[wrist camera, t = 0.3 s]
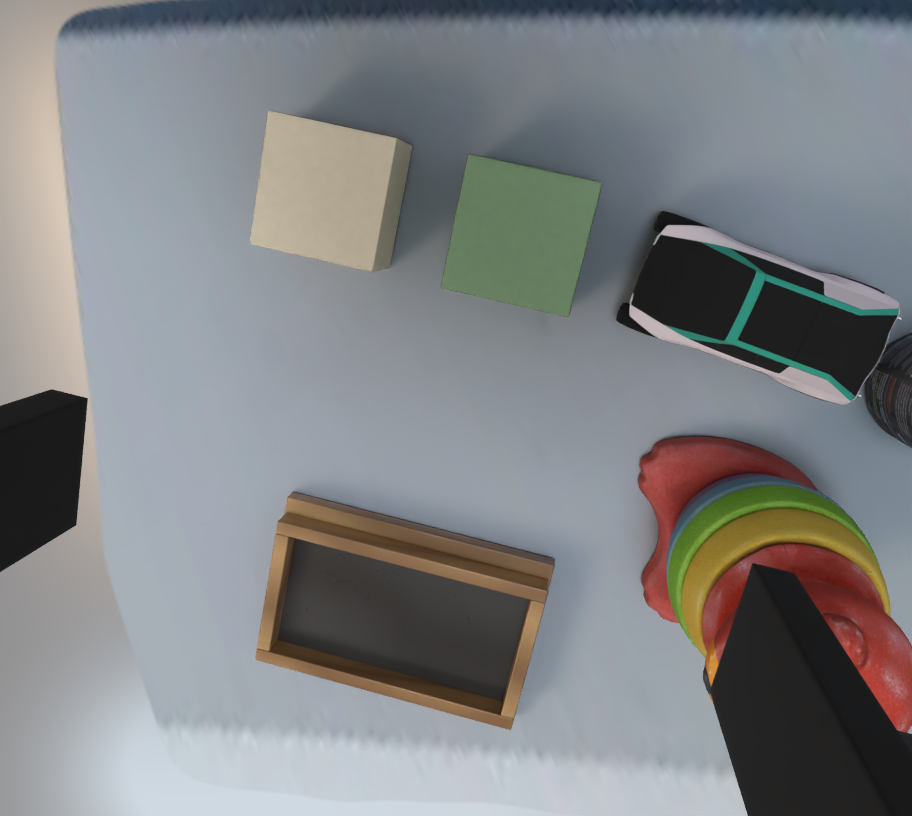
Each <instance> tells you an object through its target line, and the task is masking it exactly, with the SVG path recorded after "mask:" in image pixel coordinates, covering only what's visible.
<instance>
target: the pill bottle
mask: <svg viewBox="0 0 912 816" xmlns="http://www.w3.org/2000/svg"><path fill="white" fill-rule="evenodd" d="M866 394H867V402H868V406H869V410H870V413H871V414H872V415H873V416H874V418H875V420H876V422H877V423H878V424H879V425H880V426H881V427H882V429H883V430H885V431H886V432H887V433H888V434H890V435H891V436H893V437H895V438H896V439H898V440H899V441H901V442H902V443H904V444H906V445H907V446H909V447H911V448H912V334H911V335H908V336H906V337H904V338H902V339H900V340H898V341H896V342H895V343H893V344H892V345H891V346H890V347H888V348H887V349H886V350H885V351H884V352H883V354H882V356H881V358H880V360H879V362H878V364H877V365H876V367H875V369H874V370H873V371H872V373H871V374H870V375H869V377H868V381H867V390H866Z"/></svg>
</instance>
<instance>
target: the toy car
mask: <svg viewBox="0 0 912 816" xmlns="http://www.w3.org/2000/svg"><path fill="white" fill-rule="evenodd" d="M656 220H657V221H656V222H655V226H654V230H656V231H658V232H660V234H659V235H658V236H657V237H656V238H655V241H654V243H653V246H652V248H651V250H650V253H649V255H648V257H647V259H646V261H645V263H644V266H643V268H642V270H641V273H640V275H639V278H638V281H637V284H636V286H635V289H634V291H633V293H632V295H631V298H630V304H629V303H623V304H622V305H621V307H620V309H619V311H618V313H617V318H616V320H617V321H618V322H619V323H621V324H623V325H625V326H627V327H629V328H632V329H634V330H636V331H639V332H641V333H644V334H647V335H650V336H653V337H656V338H659V339H662V340H664V341H667V342H670V343H674V344H679V345H684V346H688V347H692V348H695V349H698V350H701V351H704V352H707V353H709V354H712V355H715V356H717V357H720V358H723V359H725V360H728V361H731V362H734V363H736V364H739V365H742V366H745V367H748V368H751V369H754V370H757V371H760V372H763V373H765V374H767V375H769V376H771V377H772V378H774V379H775V380H776V381H778V382H779V383H781V384H783V385H786V386H788V387H790V388H792V389H794V390H796V391H799V392H801V393H804V394H806V395H809V396H811V397H814V398H817V399H820V400H823V401H824V400H825V401H830V402H834V403H838V404H842V405H846V404H848V403H850V402H852V401H853V400H855V399H856V398H857V396H859V397H862V395H860V394H859V392H860V390H861V388H862V386H863V384H864V382H865V381H866V379H867V378H868V377H869V375H870V374H871V373H872V371H873V370H874V369H875V367H876V365H877V364H878V362H879V360H880V358H881V356H882V354H883V352H884V350H885V347H886V345H887V342H888V339H889V335H890V332H891V330H892V328H893V326H894V325H895V323H896V321H897V319H899V320H902V318H900V317H899V315H900V308H899V302H898V301H896V300H895V299H893V298H891V297H889V296H887V295H885V294H884V292H883V291H881V290H879V289H877V288H874V287H872V286H869V285H866V284H864V283H861V282H858V281H855V280H852V279H849V278H846V277H843V276H840V275H836V274H832V273H829V274H827V273H819V272H815V271H812V270H810V269H807V268H805V267H803V266H800V265H798V264H796V263H793V262H791V261H788V260H785V259H783V258H780V257H778V256H775V255H772V254H770V253H767V252H764V251H762V250H759V249H756V248H753V247H751V246H748V245H746V244H743V243H741V242H738V241H736V240H734V239H732V238H730V237H729V236H727V235H725V234H723V233H721V232H718V231H716V230H713V229H711V228H710V227H708V226H705V225H703V224H701V223H698V222H696V221H693V220H690V219H687V218H685V217H682V216H679V215H676V214H672V213H669V212H665V211H662V212H661V213H660V214H659V216H658V218H657V219H656ZM745 258H746V259H745ZM821 301H822V303H821ZM824 302H825V303H824ZM829 304H830V305H829ZM832 305H833V306H832ZM837 307H838V308H837ZM840 308H841V309H840ZM848 311H849V312H848ZM856 314H857V315H856ZM691 332H692V333H691ZM698 334H699V335H698ZM719 343H721V344H719ZM794 357H795V358H794Z"/></svg>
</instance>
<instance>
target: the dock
mask: <svg viewBox="0 0 912 816" xmlns="http://www.w3.org/2000/svg"><path fill="white" fill-rule="evenodd" d="M554 562H555V560H554V559H553V558H549V557H545V556H541V555H537V554H533V553H529V552H526V551H522V550H518V549H514V548H510V547H506V546H502V545H498V544H494V543H490V542H487V541H483V540H479V539H475V538H471V537H467V536H463V535H459V534H455V533H452V532H448V531H444V530H440V529H436V528H432V527H428V526H424V525H420V524H416V523H413V522H409V521H405V520H401V519H397V518H393V517H389V516H385V515H381V514H377V513H374V512H370V511H366V510H362V509H358V508H354V507H350V506H346V505H342V504H339V503H335V502H331V501H327V500H323V499H319V498H315V497H311V496H307V495H303V494H300V493H296V492H293V493H292V494H291V495H290V496H289V497H288V498H287V504H286V510H285V515H284V516H283V517H282V518H281V519H280V520H279V521H278V524H277V530H276V536H275V542H274V548H273V554H272V560H271V566H270V572H269V578H268V584H267V590H266V596H265V602H264V608H263V614H262V620H261V626H260V632H259V638H258V645H257V651H256V657H255V659H256V660H259V661H262V662H266V663H269V664H273V665H277V666H280V667H284V668H288V669H291V670H295V671H298V672H302V673H306V674H309V675H313V676H317V677H320V678H324V679H327V680H331V681H335V682H338V683H342V684H346V685H349V686H353V687H356V688H360V689H364V690H367V691H371V692H375V693H378V694H382V695H385V696H389V697H393V698H396V699H400V700H404V701H407V702H411V703H414V704H418V705H422V706H425V707H429V708H433V709H436V710H440V711H443V712H447V713H451V714H454V715H458V716H462V717H465V718H469V719H472V720H476V721H480V722H483V723H487V724H490V725H494V726H498V727H501V728H505V729H509V730H511V728H512V724H513V721H514V717H515V713H516V710H517V706H518V702H519V699H520V695H521V691H522V687H523V684H524V680H525V676H526V673H527V669H528V665H529V661H530V658H531V654H532V650H533V647H534V643H535V639H536V635H537V632H538V628H539V624H540V621H541V617H542V613H543V609H544V606H545V602H546V598H547V595H548V588H549V584H550V581H551V577H552V573H553V569H554Z"/></svg>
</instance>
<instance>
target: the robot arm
mask: <svg viewBox="0 0 912 816" xmlns="http://www.w3.org/2000/svg"><path fill="white" fill-rule="evenodd" d="M87 399H88V398H84V397H80V396H76V395H72V394H68V393H64V392H60V391H56V390H48V391H45V392H42V393H39V394H36V395H33V396H30V397H27V398H23V399H21V400H17V401H14V402H11V403H8V404H5V405H2V406H0V572H1V571H2V570H4V569H6V568H7V567H9V566H11V565H12V564H14V563H15V562H17V561H19V560H20V559H22V558H23V557H25V556H27V555H28V554H30V553H32V552H33V551H35V550H37V549H38V548H40V547H41V546H43V545H45V544H46V543H48V542H49V541H51V540H53V539H54V538H56V537H58V536H59V535H61V534H62V533H64V532H66V531H67V530H69V529H70V528H72V527H74V526H75V525H76V522H77V521H76V520H77V510H78V499H79V488H80V477H81V466H82V455H83V444H84V433H85V422H86V410H87ZM710 694H711V697H712V700H713V703H714V707H715V710H716V713H717V716H718V720H719V723H720V726H721V729H722V733H723V736H724V739H725V742H726V746H727V749H728V752H729V755H730V759H731V762H732V765H733V768H734V772H735V775H736V778H737V781H738V785H739V788H740V791H741V795H742V798H743V801H744V804H745V808H746V811H747V814H748V816H912V734H909V733H905V732H902V731H898V730H897V729H896V728H895V726H894V725H893V723H892V722H891V720H890V718H889V717H888V715H887V714H886V712H885V711H884V709H883V708H882V706H881V705H880V703H879V702H878V700H877V699H876V697H875V696H874V694H873V692H872V691H871V689H870V688H869V686H868V685H867V683H866V682H865V680H864V679H863V677H862V676H861V674H860V673H859V671H858V670H857V668H856V666H855V665H854V663H853V662H852V660H851V659H850V657H849V656H848V654H847V653H846V651H845V650H844V648H843V647H842V645H841V643H840V642H839V640H838V639H837V637H836V636H835V634H834V633H833V631H832V630H831V628H830V627H829V625H828V624H827V622H826V621H825V619H824V617H823V616H822V614H821V613H820V611H819V610H818V608H817V607H816V605H815V604H814V602H813V601H812V599H811V598H810V596H809V595H808V593H807V591H806V590H805V588H804V587H803V585H802V584H801V582H800V581H799V579H798V578H797V576H796V575H795V573H792V572H788V571H784V570H780V569H776V568H772V567H768V566H764V565H760V564H756V563H752V566H751V569H750V572H749V575H748V578H747V581H746V584H745V587H744V590H743V593H742V596H741V599H740V602H739V605H738V608H737V611H736V614H735V617H734V620H733V623H732V626H731V629H730V632H729V635H728V638H727V641H726V644H725V647H724V650H723V653H722V656H721V659H720V662H719V665H718V668H717V671H716V674H715V677H714V680H713V683H712V686H711V689H710Z"/></svg>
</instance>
